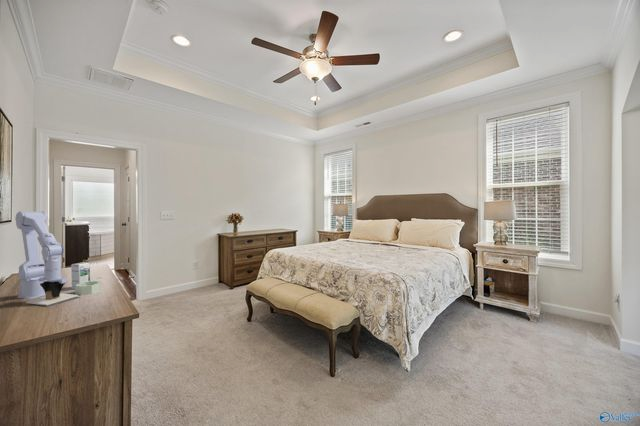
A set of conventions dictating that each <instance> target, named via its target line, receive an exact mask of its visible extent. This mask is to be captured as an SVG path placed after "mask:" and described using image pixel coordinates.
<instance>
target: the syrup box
mask: <svg viewBox="0 0 640 426" xmlns="http://www.w3.org/2000/svg"><path fill="white" fill-rule="evenodd" d="M90 263H91V262H85V261H84V262H83V261H82V262H78V263H72V264H71V265H70V268H71V270H70V272H71V273H70V274H71V289H72V290H75V286H76V285H77V284H79V283H83V282H90V281H91V270H90V269H91V268H90V267H91V264H90Z"/></svg>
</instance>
